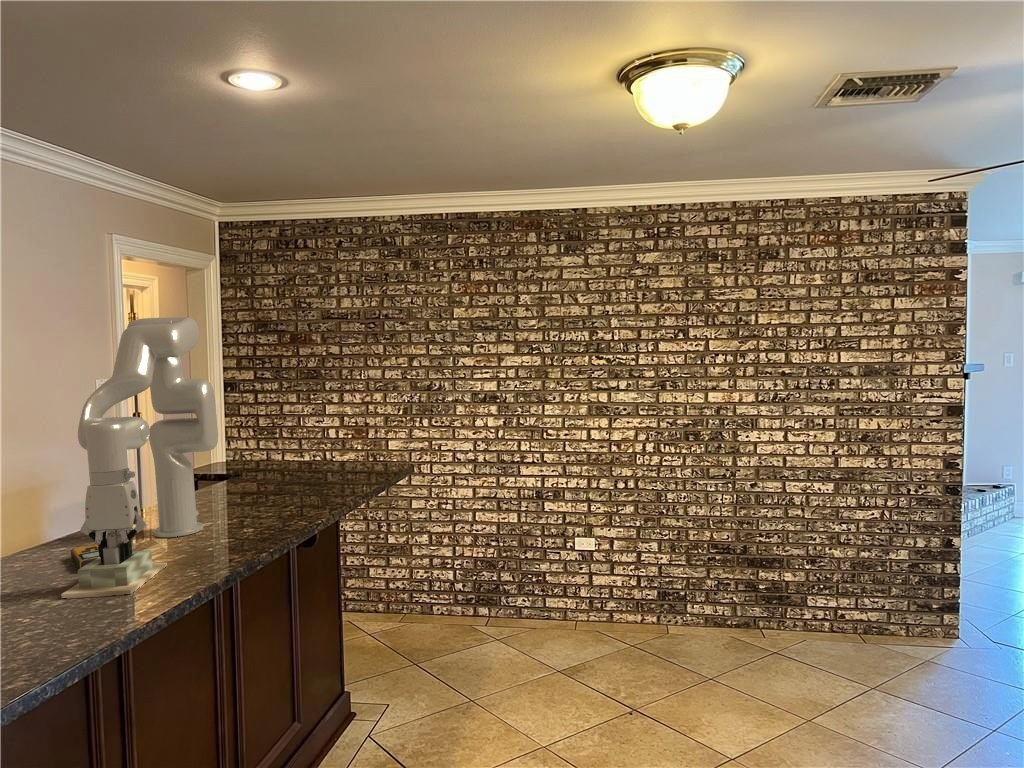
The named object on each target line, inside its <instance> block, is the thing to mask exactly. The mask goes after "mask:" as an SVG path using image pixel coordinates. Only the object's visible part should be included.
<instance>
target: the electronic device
mask: <svg viewBox="0 0 1024 768" xmlns="http://www.w3.org/2000/svg"><path fill="white" fill-rule="evenodd" d="M70 558H71V560H72V561H73V563H74V565H76V567H77V568H78V570H79V569H80V568H82V567H84V566H85V565H87V564H89V563H90V562H92V561H94V560H95V559H97V558H99V549H98V545H97V544H96V543H95V544H89V545H86V546H85V545H84V546H81V547H80V546H79V547H74V548H73V549H71V550H70Z"/></svg>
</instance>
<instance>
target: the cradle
mask: <svg viewBox="0 0 1024 768" xmlns="http://www.w3.org/2000/svg"><path fill="white" fill-rule="evenodd" d="M152 554H153V553H152V550H151V549H150V550H149V549H148V550H132V555H131V557H130V558H128V559H127V560H125V561H124V562H122V563H121V564H113V565H104V562H101V557H99V558H97V559H95V560H94V561H92V562H90V563H89V564H87V565H85V566H84V567H82V568H80V569H79V568H78V569H77V577H78V579H77V581H78V583H76V584H75V585H73V586H72V587H70V588H68V589H67V590H66V591H64V592H63V593H61V594H60V595H61V599H62V598H67V599H79V598H82V599H83V598H97V597H113V596H112V595H116V596H125V595H124V594H131V595H133V594H134V593H135V592H136V591H138V590H139V589H140V588H142V587H143V586H144V585H145V584H144V583H145V582H147V581H148V580H149V579H150V578H152V577H153V576H154V575H155V574H157V573H158V572H159V571H160V570H162V569H163V568H165V567H166V566H167V567H168V562H155V563H153V558H152V557H153V556H152ZM167 567H166V568H167ZM166 568H165V569H166ZM162 571H163V570H162ZM157 575H158V574H157ZM153 578H154V577H153ZM153 578H152V579H153ZM149 581H150V580H149ZM149 581H148V582H149ZM148 582H147V583H148ZM143 584H144V585H143ZM142 585H143V586H142ZM141 586H142V587H141ZM139 587H140V588H139ZM138 588H139V589H138ZM137 589H138V590H137ZM134 591H135V592H134ZM133 592H134V593H133Z"/></svg>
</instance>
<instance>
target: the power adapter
mask: <svg viewBox="0 0 1024 768" xmlns="http://www.w3.org/2000/svg"><path fill="white" fill-rule="evenodd" d="M113 531H114V532H113ZM121 543H122V538H121V534H120V531H118V530H110V534H107V547H105V548H103V557H104V565H113V564H121V563H122V562H124V561H122V560H121V552H120V544H121Z"/></svg>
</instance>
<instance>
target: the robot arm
mask: <svg viewBox="0 0 1024 768" xmlns="http://www.w3.org/2000/svg"><path fill="white" fill-rule="evenodd" d="M120 335H121V336H120V339H119V344H118V349H117V353H116V357H115V362H114V364H113V365H114V367H113V371H112V375H111V377H110V378H109V379H108V380H106V381H105V382H103V383H102V384H101V385H100V386H98V387H97V389H96V390H95V391H94V392H92V394H91V395H89V397H88V398H87V399H86V401H85V403H84V405H83V407H82V410H81V413H80V418H79V423H78V426H77V427H78V430H77V440H78V441H77V442H78V443H79V445H80V447H81V448H82V449H84V450H86V451H87V452H86V453H87V463H88V475H89V485H87V487H86V493H85V504H84V505H85V506H84V517H85V518H84V519H85V520H84V522H83V524H82V526H80V527H81V528H80V533H82V534H84V535H86V536H88V537H90V539H92V540H93V541H94V543H95V544H97V545H98V549H99V557H101V562H104V557H103V548H105V547H107V536H108V533H109V532H108V531H111V530H112V531H115V530H117V531H118V530H119V532H120V534H121V538H122V543H121V544H120V552H121V560H122V561H125V560H127V559H128V558H130V557H131V555H132V551H133V543H132V540H133V539H134V538H135V536H137V534H138V533H140V532H141V531H143V530H144V529H146V527H147V523H146V522H145V520H143V518H142V513H141V506H140V504H141V503H140V500H139V495H138V492H137V487H136V485H135V482H134V481H133V480H131V478H135V476H136V472H135V471H131V470H130V467H129V460H128V450H136V449H140V448H142V447H143V446H144V445H145V444H147V442H149V445H150V449H151V452H152V458H153V464H154V472H155V473H154V475H155V485H156V486H155V487H156V498H157V499H156V501H157V513H158V515H157V516H158V527H157V528H155V529H153V536H154V537H157V538H177V536H178V537H182V536H183V537H184V536H189V535H192V534H195V533H199V532H200V531H202V530H203V529H204V524H203V523H202V522H199V521H198V518H197V517H198V516H199V514H200V513H199V512H200V511H199V510H197V506H196V505H197V504H196V492H195V489H196V488H195V476H194V475H195V474H194V467H193V465H192V463H191V461H190V460H189V459H188V458H187V456H186V455H185V454H186V453H198V452H199V453H203V452H204V453H205V452H209V451H213V450H214V449H215V448H216V447H217V445H218V442H219V429H218V426H219V425H218V420H217V419H218V417H217V416H218V415H217V406H216V405H217V404H216V396H215V391H214V387H213V386H212V384H211V382H210V381H209V380H207V379H205V378H185V377H184V369H183V363H182V362H183V361H182V359H181V357H183V356H184V355H186V354H188V352H190V351H192V350H193V349H194V348H195V347H196V346H197V344H198V342H199V339H200V338H199V337H200V328H199V325H198V324H197V322H196V321H195V320H194V319H193V318H191V317H189V316H177V317H175V316H174V317H173V316H171V317H145V318H137V319H134V320H131V321H130V322H129V323H128V324H127V327H126V328H125V329H124V330H123V332H121V334H120ZM148 389H149V391H150V399H151V404H152V405H151V406H152V408H153V411H155V412H156V413H157V414H159V415H183V414H186V415H187V414H194V415H195V417H187V418H185V417H181V418H167V419H160V420H158V421H156V422H153V423H152V424H151V426H149V424H148V422H147V421H146V420H145V419H144V418H142V417H139V416H113V417H110V416H109V417H103V416H104V415H105V414H106V413H107V412H108V411H109V410H110V409H111V408H113V407H114V406H115V405H117V404H119V403H121V402H123V401H125V400H128V399H130V398H132V397H135V396H137V395H139V394H141V393H143V392H145V391H147V390H148ZM134 525H135V527H134V528H133V529H132V527H133V526H134Z"/></svg>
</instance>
